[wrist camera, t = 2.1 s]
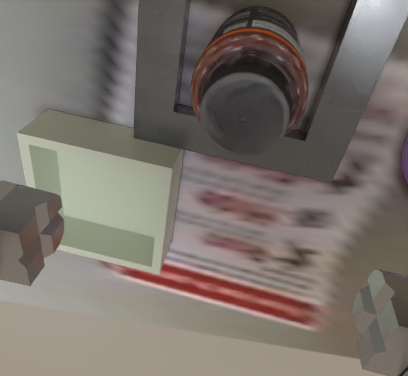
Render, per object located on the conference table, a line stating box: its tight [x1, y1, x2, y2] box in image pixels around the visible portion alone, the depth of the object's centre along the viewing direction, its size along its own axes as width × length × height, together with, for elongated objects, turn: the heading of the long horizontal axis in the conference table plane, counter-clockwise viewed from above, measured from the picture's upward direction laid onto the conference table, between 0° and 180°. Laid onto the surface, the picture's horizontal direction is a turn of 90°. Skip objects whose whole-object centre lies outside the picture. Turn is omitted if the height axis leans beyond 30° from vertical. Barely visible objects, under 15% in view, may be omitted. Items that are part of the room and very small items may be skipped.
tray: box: [17, 109, 184, 275], centre depth 32 cm, size 12×12×4 cm
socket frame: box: [133, 0, 408, 183], centre depth 24 cm, size 16×16×2 cm
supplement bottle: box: [191, 7, 308, 157], centre depth 20 cm, size 6×6×11 cm
